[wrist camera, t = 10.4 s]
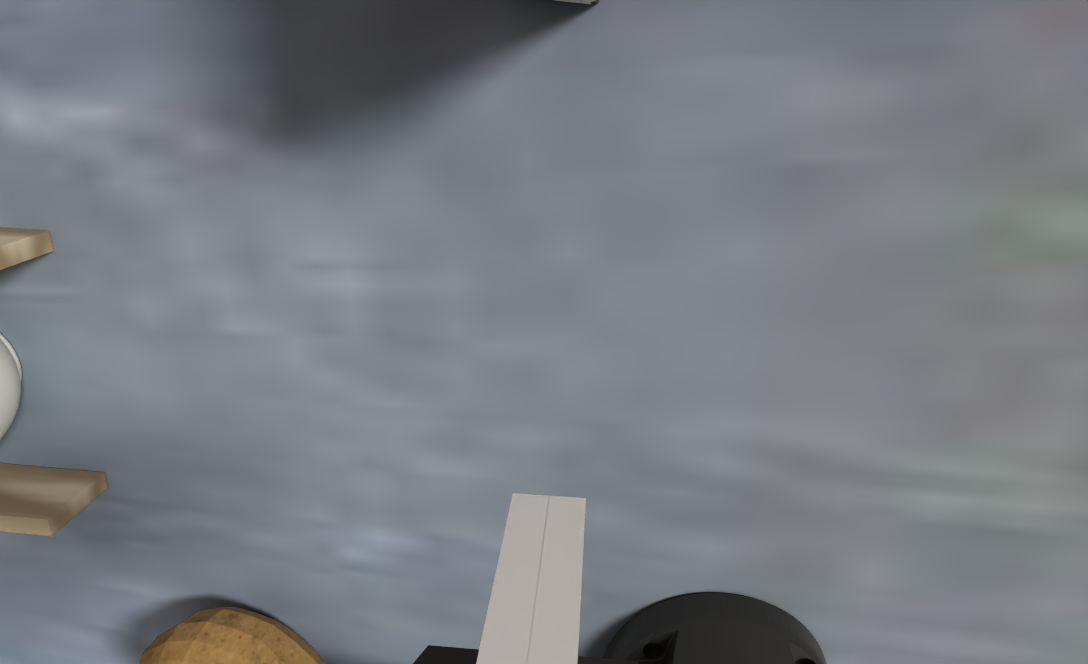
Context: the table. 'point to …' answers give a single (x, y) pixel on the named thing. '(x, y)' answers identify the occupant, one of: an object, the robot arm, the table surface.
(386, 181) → the table surface
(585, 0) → the candy bar box
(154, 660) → the potato
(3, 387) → the lidded jar
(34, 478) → the bay
